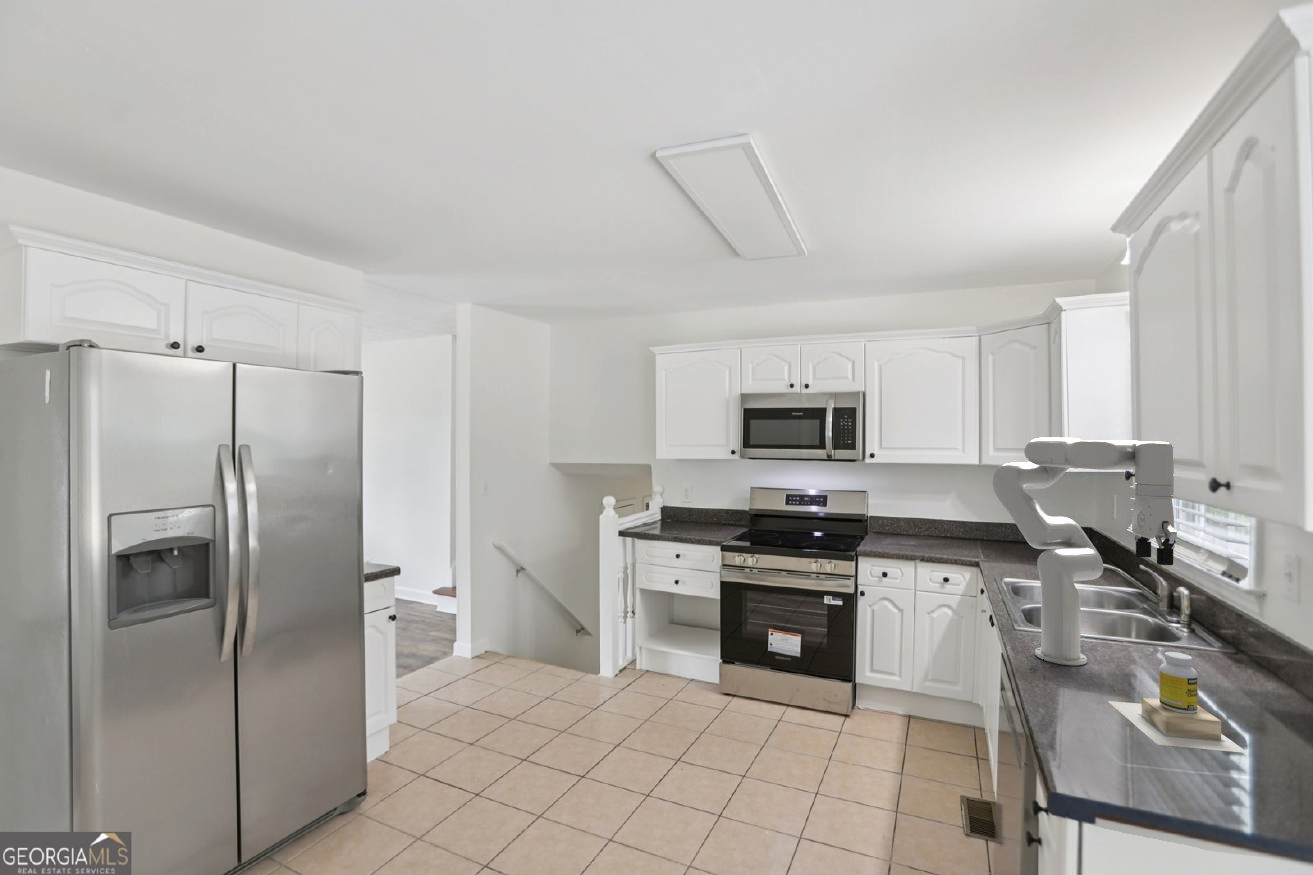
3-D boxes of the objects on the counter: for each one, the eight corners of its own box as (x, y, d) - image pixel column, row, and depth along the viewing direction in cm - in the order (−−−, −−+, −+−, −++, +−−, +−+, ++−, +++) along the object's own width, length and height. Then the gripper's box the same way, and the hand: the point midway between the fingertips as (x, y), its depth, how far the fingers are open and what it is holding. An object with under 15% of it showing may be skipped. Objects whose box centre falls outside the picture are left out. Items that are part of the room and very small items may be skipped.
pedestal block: (1141, 715, 145) (1141, 697, 145) (1192, 719, 142) (1192, 701, 142) (1166, 735, 135) (1166, 716, 135) (1221, 740, 133) (1221, 721, 133)
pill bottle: (1183, 716, 135) (1183, 661, 135) (1152, 703, 141) (1152, 651, 141) (1205, 712, 137) (1205, 659, 137) (1173, 700, 143) (1173, 649, 143)
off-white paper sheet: (1107, 702, 152) (1107, 700, 152) (1184, 708, 149) (1184, 707, 149) (1157, 746, 131) (1157, 744, 131) (1248, 754, 127) (1248, 753, 127)
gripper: (1119, 488, 165) (1119, 553, 165) (1155, 494, 148) (1155, 567, 149) (1152, 489, 164) (1152, 555, 164) (1192, 495, 147) (1192, 568, 147)
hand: (1153, 560), depth 156 cm, fingers open, 9 cm apart
